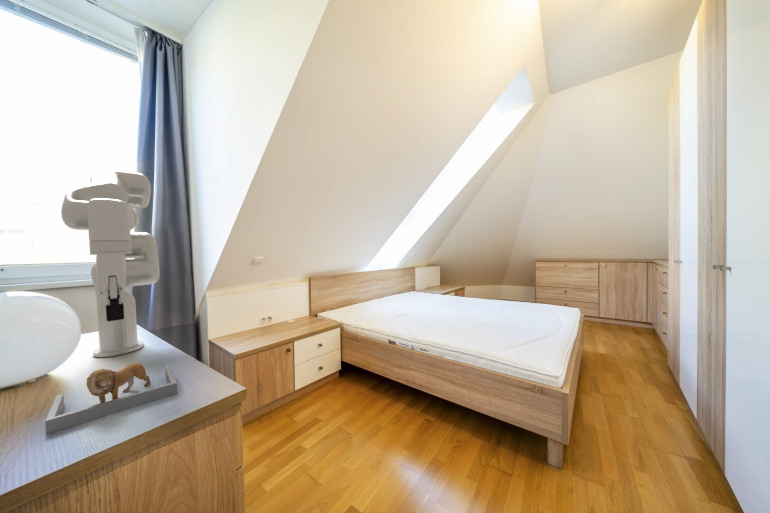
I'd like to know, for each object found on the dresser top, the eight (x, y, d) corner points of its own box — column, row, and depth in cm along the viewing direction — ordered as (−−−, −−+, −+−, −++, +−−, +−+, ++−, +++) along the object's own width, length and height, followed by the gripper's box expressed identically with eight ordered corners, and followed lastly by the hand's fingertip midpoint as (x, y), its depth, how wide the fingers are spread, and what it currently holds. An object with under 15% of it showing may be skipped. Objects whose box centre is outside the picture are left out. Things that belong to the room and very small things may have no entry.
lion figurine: (106, 415, 58) (104, 372, 57) (78, 417, 57) (75, 374, 57) (157, 381, 72) (155, 347, 72) (135, 382, 72) (133, 348, 71)
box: (57, 406, 61) (56, 395, 61) (170, 375, 75) (169, 366, 75) (46, 434, 52) (45, 421, 52) (177, 393, 66) (176, 382, 66)
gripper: (91, 249, 73) (96, 317, 73) (87, 248, 62) (92, 329, 63) (130, 248, 78) (134, 312, 78) (132, 248, 67) (136, 322, 68)
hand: (115, 319), depth 71 cm, fingers closed
